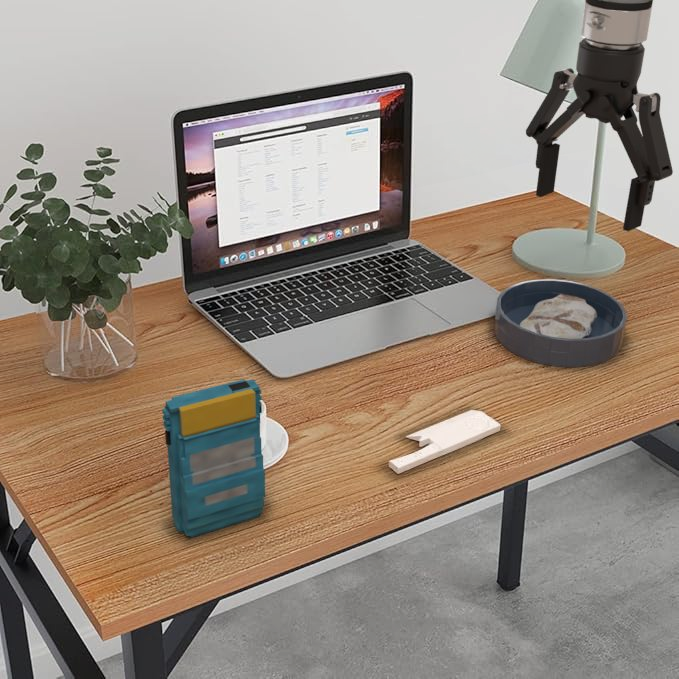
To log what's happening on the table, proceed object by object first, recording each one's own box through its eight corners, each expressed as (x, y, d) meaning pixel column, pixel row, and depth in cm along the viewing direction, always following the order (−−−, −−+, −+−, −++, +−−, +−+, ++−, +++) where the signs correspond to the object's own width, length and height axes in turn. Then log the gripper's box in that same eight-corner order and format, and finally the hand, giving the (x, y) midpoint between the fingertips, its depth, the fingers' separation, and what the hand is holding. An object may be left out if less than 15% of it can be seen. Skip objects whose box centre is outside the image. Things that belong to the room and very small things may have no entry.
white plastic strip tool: (370, 451, 119) (370, 443, 119) (472, 411, 127) (472, 403, 126) (397, 474, 116) (398, 465, 115) (500, 431, 123) (501, 423, 123)
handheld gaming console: (255, 495, 112) (253, 374, 105) (272, 517, 109) (270, 395, 102) (167, 521, 108) (158, 398, 101) (182, 546, 105) (174, 420, 98)
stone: (581, 360, 137) (585, 338, 136) (512, 344, 140) (515, 322, 138) (599, 319, 147) (603, 298, 145) (534, 305, 150) (537, 285, 148)
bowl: (633, 321, 147) (638, 295, 145) (605, 379, 134) (609, 352, 132) (515, 294, 153) (518, 269, 151) (476, 347, 140) (479, 321, 138)
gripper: (509, 24, 130) (492, 187, 140) (687, 71, 114) (653, 251, 124) (548, 15, 134) (529, 174, 145) (725, 59, 118) (689, 234, 129)
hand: (586, 210), depth 134 cm, fingers open, 13 cm apart
